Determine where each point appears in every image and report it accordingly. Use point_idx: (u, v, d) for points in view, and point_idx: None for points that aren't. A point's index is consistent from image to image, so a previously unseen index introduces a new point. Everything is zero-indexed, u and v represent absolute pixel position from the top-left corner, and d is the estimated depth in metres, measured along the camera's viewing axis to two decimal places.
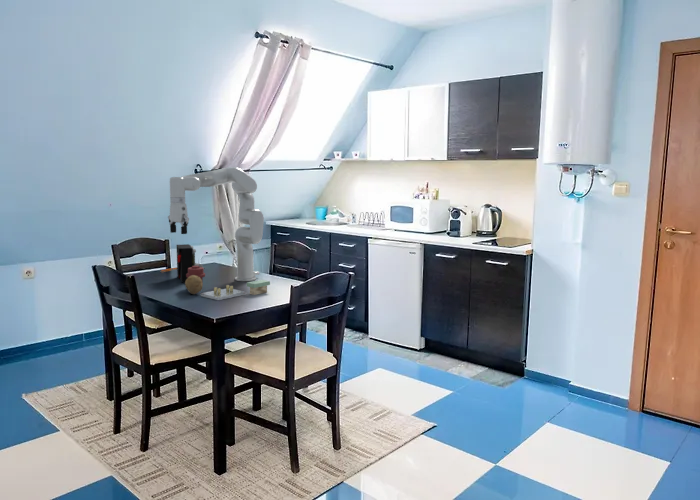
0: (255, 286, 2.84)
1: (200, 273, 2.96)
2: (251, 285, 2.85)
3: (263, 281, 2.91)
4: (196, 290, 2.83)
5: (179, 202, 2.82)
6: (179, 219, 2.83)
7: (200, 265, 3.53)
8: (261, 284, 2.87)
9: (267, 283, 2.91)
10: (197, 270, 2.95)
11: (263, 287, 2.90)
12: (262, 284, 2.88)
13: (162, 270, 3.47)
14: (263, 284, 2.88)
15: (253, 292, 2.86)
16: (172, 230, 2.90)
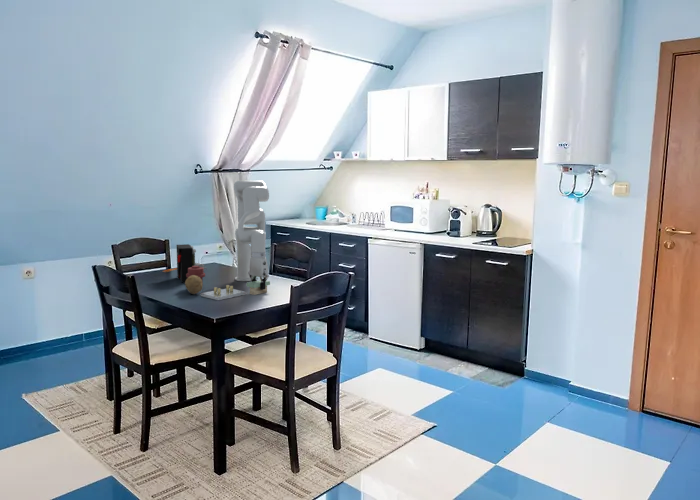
0: (255, 286, 2.84)
1: (200, 273, 2.96)
2: (251, 285, 2.85)
3: None
4: (196, 290, 2.83)
5: (260, 257, 2.84)
6: (260, 274, 2.85)
7: (202, 265, 3.54)
8: None
9: (267, 283, 2.91)
10: (197, 270, 2.95)
11: None
12: None
13: None
14: None
15: (253, 292, 2.86)
16: None
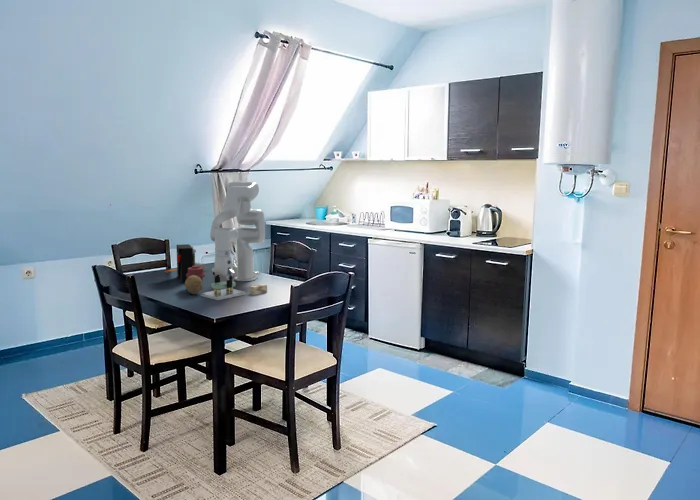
0: (219, 287, 2.77)
1: (200, 273, 2.96)
2: (215, 286, 2.78)
3: None
4: (196, 290, 2.83)
5: (225, 256, 2.77)
6: (225, 273, 2.78)
7: (204, 265, 3.54)
8: (226, 285, 2.80)
9: (232, 284, 2.84)
10: (197, 270, 2.95)
11: (263, 287, 2.90)
12: None
13: None
14: None
15: (253, 292, 2.86)
16: None
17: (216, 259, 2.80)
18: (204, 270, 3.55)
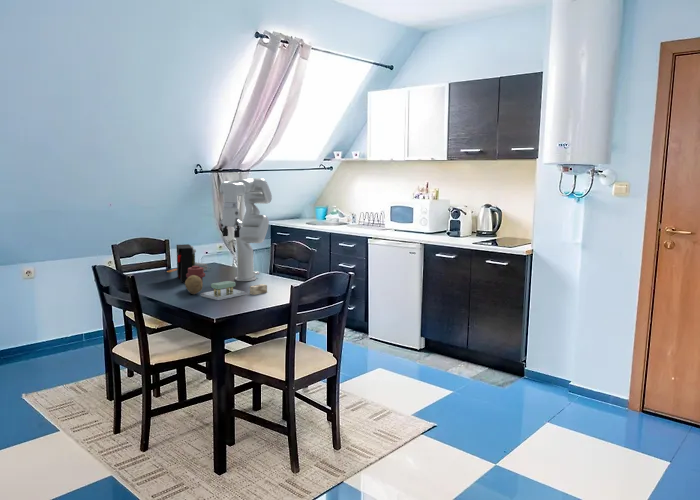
0: (219, 287, 2.77)
1: (200, 273, 2.96)
2: (215, 286, 2.78)
3: (228, 282, 2.84)
4: (196, 290, 2.83)
5: (232, 207, 2.95)
6: (232, 223, 2.95)
7: (205, 265, 3.55)
8: (226, 285, 2.80)
9: (232, 284, 2.84)
10: (197, 270, 2.95)
11: (263, 287, 2.90)
12: (227, 285, 2.81)
13: (168, 271, 3.45)
14: (228, 285, 2.82)
15: (253, 292, 2.86)
16: (224, 234, 3.02)
17: (224, 211, 2.98)
18: (205, 270, 3.55)
